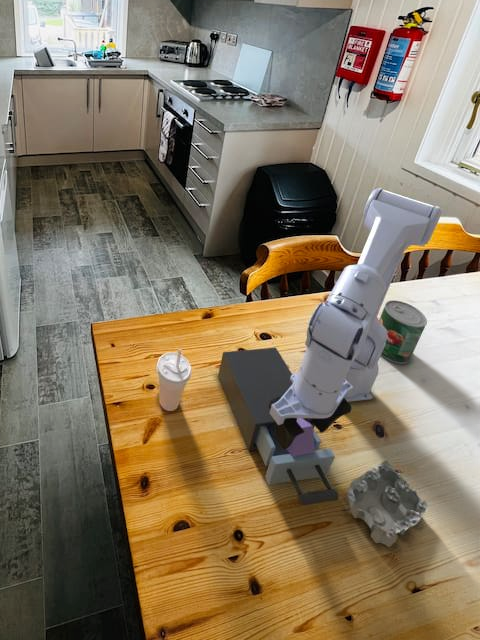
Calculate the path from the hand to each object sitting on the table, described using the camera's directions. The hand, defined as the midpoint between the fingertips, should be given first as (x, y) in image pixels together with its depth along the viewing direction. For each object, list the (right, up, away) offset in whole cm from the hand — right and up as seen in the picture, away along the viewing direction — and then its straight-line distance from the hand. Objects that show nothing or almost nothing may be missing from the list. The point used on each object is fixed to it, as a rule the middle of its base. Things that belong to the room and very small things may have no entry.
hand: (299, 434), depth 64 cm
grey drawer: (-1, -6, +5) cm, 8 cm away
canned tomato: (+34, 0, +28) cm, 44 cm away
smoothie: (-20, -3, +13) cm, 24 cm away
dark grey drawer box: (-2, -4, +13) cm, 13 cm away
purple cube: (0, -3, +1) cm, 3 cm away
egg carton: (+12, -11, -2) cm, 16 cm away
